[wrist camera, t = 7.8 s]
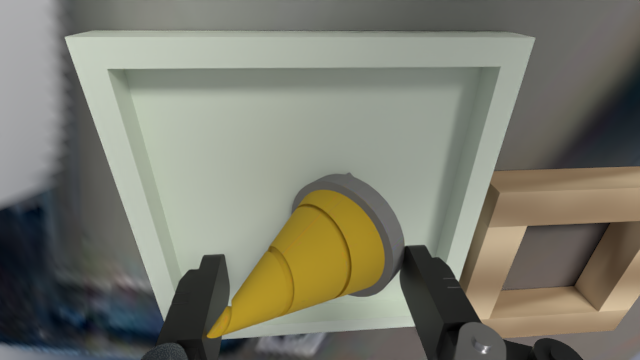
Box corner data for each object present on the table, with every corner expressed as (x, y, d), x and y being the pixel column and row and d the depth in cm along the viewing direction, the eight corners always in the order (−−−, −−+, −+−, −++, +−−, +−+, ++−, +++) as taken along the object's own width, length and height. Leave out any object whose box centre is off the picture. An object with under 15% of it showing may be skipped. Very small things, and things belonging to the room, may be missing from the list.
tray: (92, 30, 12) (64, 36, 11) (507, 31, 13) (535, 37, 12) (180, 315, 20) (171, 342, 19) (434, 299, 22) (445, 324, 20)
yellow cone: (360, 255, 19) (205, 391, 12) (326, 168, 18) (142, 257, 11) (450, 253, 15) (298, 450, 8) (410, 142, 14) (211, 253, 8)
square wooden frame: (478, 171, 17) (500, 192, 15) (677, 165, 18) (719, 184, 16) (437, 314, 22) (449, 341, 21) (589, 304, 23) (613, 330, 21)
